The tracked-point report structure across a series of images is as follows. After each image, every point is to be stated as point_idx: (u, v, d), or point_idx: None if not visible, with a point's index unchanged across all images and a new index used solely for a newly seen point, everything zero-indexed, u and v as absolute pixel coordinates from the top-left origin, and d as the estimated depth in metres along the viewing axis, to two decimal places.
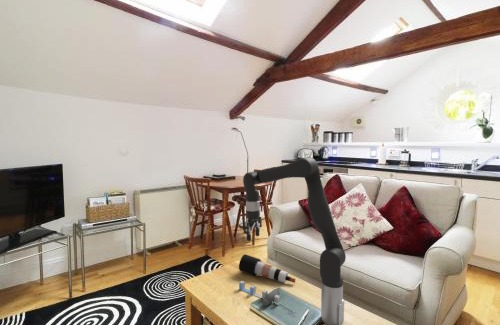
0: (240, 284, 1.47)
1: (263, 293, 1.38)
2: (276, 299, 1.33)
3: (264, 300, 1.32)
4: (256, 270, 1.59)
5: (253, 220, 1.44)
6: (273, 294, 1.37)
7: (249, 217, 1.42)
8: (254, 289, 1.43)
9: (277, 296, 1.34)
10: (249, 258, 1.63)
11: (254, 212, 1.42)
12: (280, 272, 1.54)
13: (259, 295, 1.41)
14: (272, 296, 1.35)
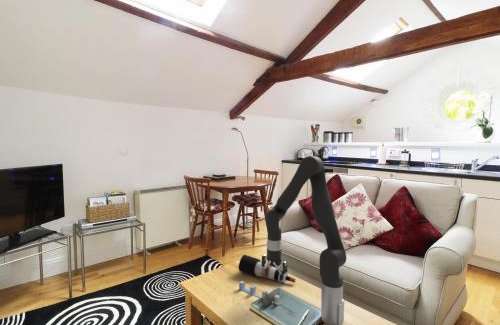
0: (240, 284, 1.47)
1: (263, 293, 1.38)
2: (276, 299, 1.33)
3: (264, 300, 1.32)
4: (256, 270, 1.59)
5: None
6: (273, 294, 1.37)
7: (280, 256, 1.35)
8: (254, 289, 1.43)
9: (277, 296, 1.34)
10: (249, 258, 1.63)
11: None
12: None
13: (259, 295, 1.41)
14: (272, 296, 1.35)
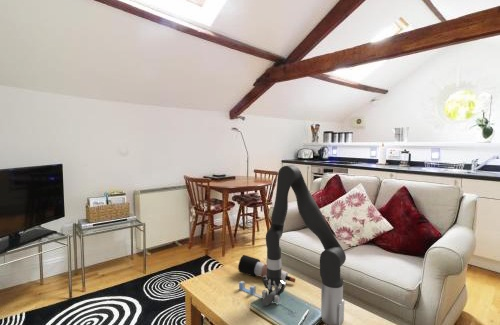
0: (240, 284, 1.47)
1: (263, 293, 1.38)
2: (276, 299, 1.33)
3: (264, 300, 1.32)
4: (256, 271, 1.58)
5: None
6: (273, 294, 1.37)
7: (280, 274, 1.36)
8: (254, 289, 1.43)
9: (277, 296, 1.34)
10: (248, 259, 1.62)
11: None
12: None
13: (259, 295, 1.41)
14: (272, 296, 1.35)
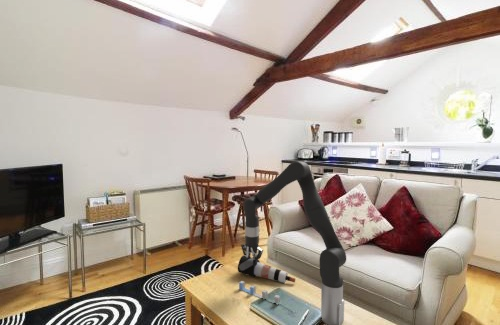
0: (240, 284, 1.47)
1: (263, 293, 1.38)
2: (276, 299, 1.33)
3: (241, 265, 1.39)
4: (255, 271, 1.58)
5: None
6: (251, 260, 1.44)
7: (257, 242, 1.43)
8: (254, 289, 1.43)
9: (277, 296, 1.34)
10: None
11: None
12: (280, 272, 1.54)
13: (259, 295, 1.41)
14: (249, 262, 1.43)
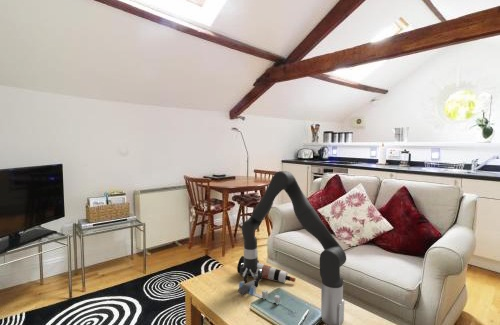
0: (240, 284, 1.47)
1: (263, 293, 1.38)
2: (276, 299, 1.33)
3: (240, 289, 1.41)
4: None
5: None
6: (249, 284, 1.46)
7: (256, 263, 1.45)
8: (254, 289, 1.43)
9: (277, 296, 1.34)
10: None
11: None
12: (280, 272, 1.54)
13: (259, 295, 1.41)
14: (248, 285, 1.45)
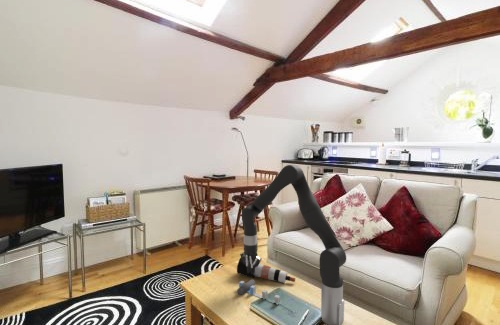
0: (240, 284, 1.47)
1: (263, 293, 1.38)
2: (276, 299, 1.33)
3: (238, 289, 1.42)
4: (255, 272, 1.57)
5: None
6: (247, 283, 1.47)
7: (256, 250, 1.44)
8: (254, 289, 1.43)
9: (277, 296, 1.34)
10: None
11: None
12: (280, 272, 1.54)
13: (259, 295, 1.41)
14: (246, 284, 1.45)
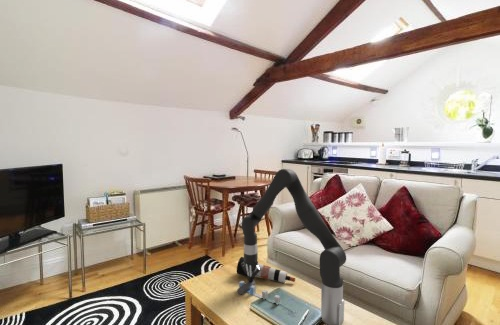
0: (240, 284, 1.47)
1: (263, 293, 1.38)
2: (276, 299, 1.33)
3: (238, 288, 1.42)
4: None
5: None
6: (247, 283, 1.47)
7: (256, 259, 1.45)
8: (254, 289, 1.43)
9: (277, 296, 1.34)
10: None
11: None
12: (280, 272, 1.54)
13: (259, 295, 1.41)
14: (246, 284, 1.45)
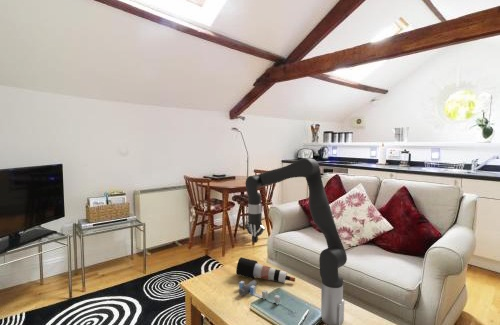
0: (240, 284, 1.47)
1: (263, 293, 1.38)
2: (276, 299, 1.33)
3: (241, 290, 1.40)
4: (255, 272, 1.56)
5: None
6: (251, 285, 1.45)
7: (260, 219, 1.46)
8: (254, 289, 1.43)
9: (277, 296, 1.34)
10: (246, 261, 1.60)
11: None
12: (280, 272, 1.54)
13: (259, 295, 1.41)
14: (249, 287, 1.44)
